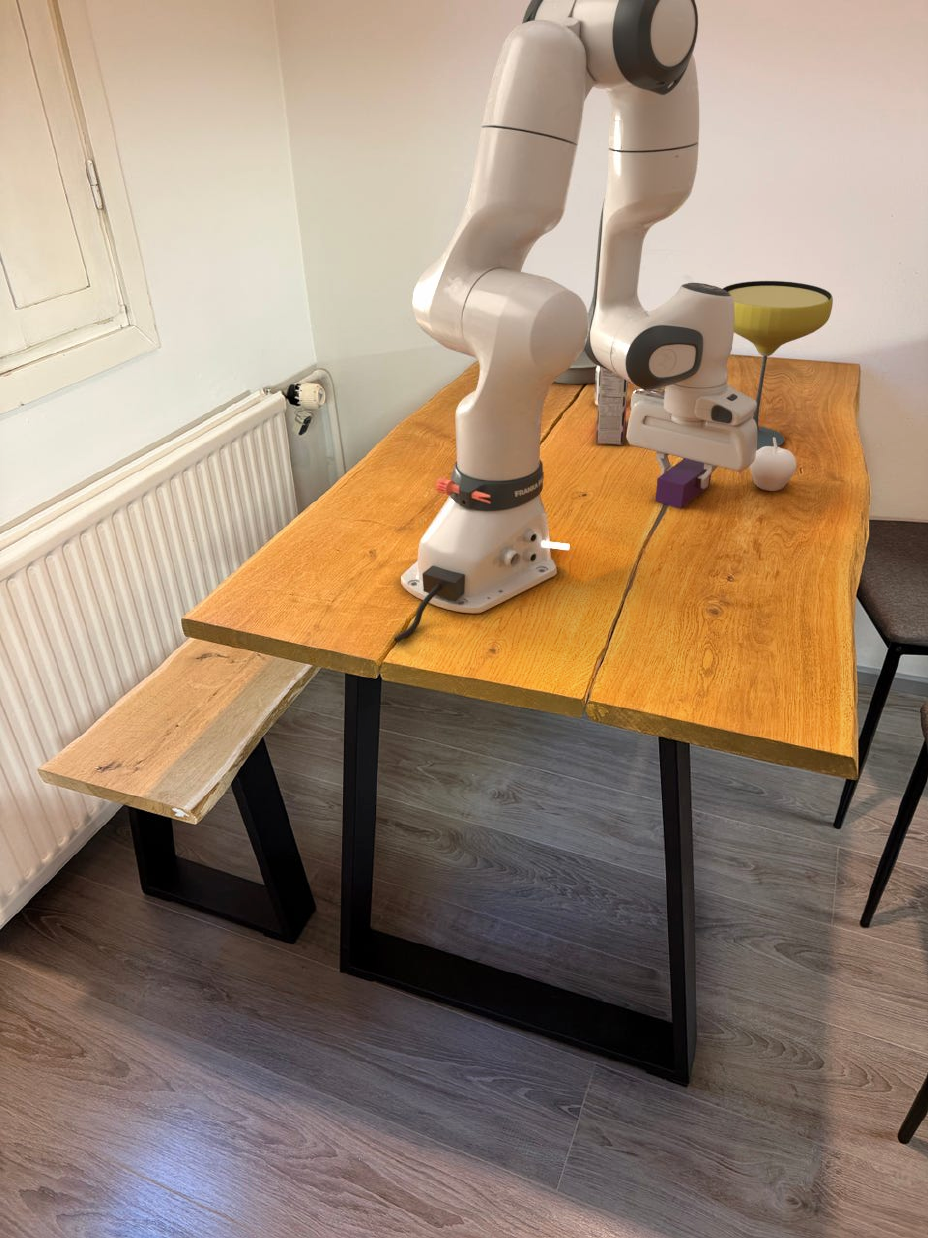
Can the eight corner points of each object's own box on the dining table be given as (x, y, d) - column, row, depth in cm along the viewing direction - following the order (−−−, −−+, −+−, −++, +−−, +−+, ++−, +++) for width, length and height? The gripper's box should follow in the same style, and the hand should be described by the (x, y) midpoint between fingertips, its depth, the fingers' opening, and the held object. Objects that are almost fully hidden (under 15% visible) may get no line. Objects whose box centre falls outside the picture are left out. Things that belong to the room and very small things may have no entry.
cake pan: (511, 354, 203) (511, 334, 200) (617, 347, 204) (618, 327, 202) (530, 390, 182) (530, 369, 180) (647, 382, 184) (648, 361, 181)
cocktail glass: (689, 450, 155) (707, 302, 141) (712, 414, 168) (730, 277, 154) (797, 465, 148) (826, 312, 134) (812, 427, 162) (840, 284, 148)
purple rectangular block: (681, 508, 136) (684, 485, 134) (655, 501, 139) (657, 477, 137) (709, 485, 143) (713, 462, 141) (684, 478, 145) (686, 456, 143)
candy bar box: (599, 421, 167) (604, 333, 158) (625, 423, 166) (632, 334, 157) (594, 444, 158) (599, 353, 149) (622, 446, 157) (629, 354, 148)
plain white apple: (774, 474, 146) (782, 427, 141) (801, 491, 140) (810, 444, 136) (737, 481, 144) (744, 434, 140) (762, 499, 138) (771, 451, 134)
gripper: (622, 390, 136) (616, 473, 143) (750, 417, 125) (736, 506, 132) (642, 378, 140) (635, 460, 147) (768, 404, 129) (753, 490, 137)
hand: (684, 482), depth 140 cm, fingers closed on purple rectangular block, 4 cm apart
